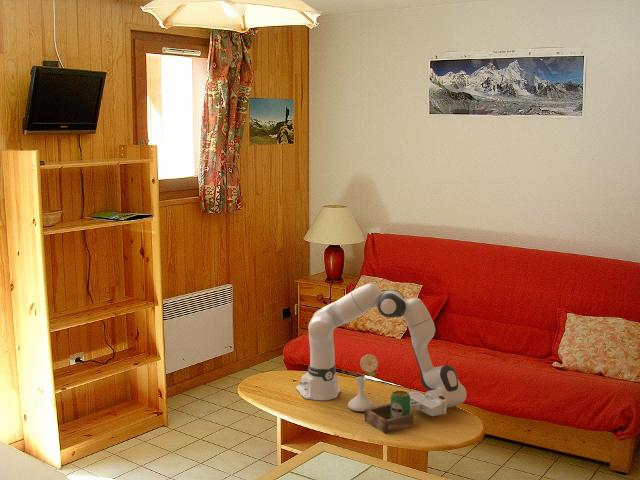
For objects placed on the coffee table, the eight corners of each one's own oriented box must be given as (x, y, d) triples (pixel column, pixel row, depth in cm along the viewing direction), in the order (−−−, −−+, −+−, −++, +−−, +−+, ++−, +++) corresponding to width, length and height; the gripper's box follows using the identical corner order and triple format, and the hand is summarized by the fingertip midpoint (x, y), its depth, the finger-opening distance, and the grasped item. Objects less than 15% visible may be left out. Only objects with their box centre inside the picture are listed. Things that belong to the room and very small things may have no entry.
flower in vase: (346, 413, 327) (346, 357, 323) (349, 403, 338) (349, 349, 334) (376, 414, 325) (377, 358, 321) (378, 404, 336) (379, 350, 332)
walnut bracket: (364, 420, 318) (364, 409, 318) (392, 414, 325) (392, 403, 324) (385, 433, 306) (385, 421, 305) (413, 426, 312) (413, 415, 312)
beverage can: (387, 422, 317) (387, 394, 315) (395, 415, 324) (395, 388, 322) (404, 426, 313) (405, 398, 311) (412, 419, 320) (413, 392, 318)
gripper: (419, 386, 335) (393, 391, 328) (449, 401, 317) (422, 407, 310) (418, 399, 336) (393, 405, 329) (448, 415, 318) (422, 422, 311)
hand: (407, 406), depth 319 cm, fingers closed, pressing on beverage can
